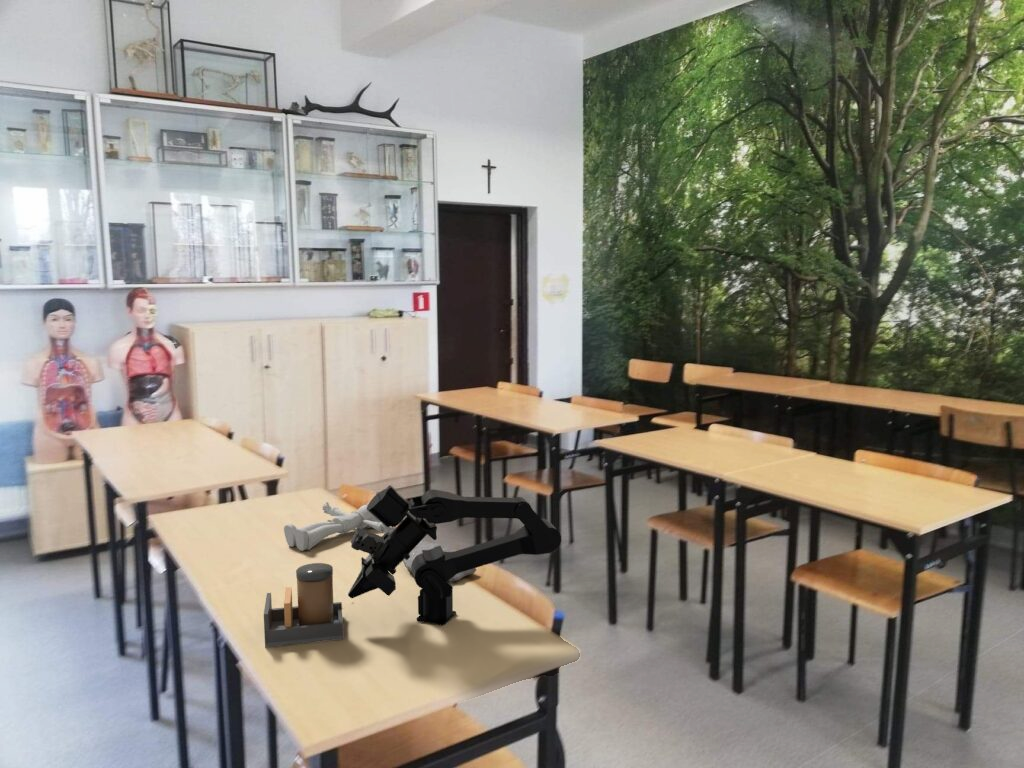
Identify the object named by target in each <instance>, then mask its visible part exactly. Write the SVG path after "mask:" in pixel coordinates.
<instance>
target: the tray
mask: <svg viewBox="0 0 1024 768" xmlns="http://www.w3.org/2000/svg"><path fill="white" fill-rule="evenodd" d="M342 604H343V603H342V602H340V601H339V602H338V601H337V602H336V601H335V602H333V607H334V623H325V624H315V625H306V626H299V618H298V605H295V606H292V609H293V625H292V627H286V628H285V617H284V607H274V608H273V607H272V606H273V605H272V592H266V597H265V604H264V609H263V628H264V629H263V630H264V646H265V647H264V648H273V647H281V646H282V647H283V646H291V645H301V644H302V645H303V644H312V643H320V642H329V641H337V640H338V641H339V640H344V622H343V609H342V608H343V607H342V606H343V605H342Z"/></svg>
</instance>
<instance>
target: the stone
mask: <svg viewBox="0 0 1024 768" xmlns="http://www.w3.org/2000/svg"><path fill="white" fill-rule="evenodd" d="M437 546H441V548H442V550H443V552H454V551H455V550H452V549H449V548H447V547H445V546H442V545H441V544H439V543H434V542H433V543H432V542H430V541H427V540H424V539H422V540H421V541H420V543H419V544H418V545H417V546H416V547H415V548H414V549H413V550H412V551H411V552H410V553H409V554H410V558H409V559H408V560H406V559H405V558H404V560H403V561H402V562H403V563H404V565H405V567H406V568H407V570H409V571H410V572H412V569H411V565H412V562H413V560H414V558H415V557H416V556H417V555H419V554H421V553H422V550H430V549H433V548H435V547H437ZM413 553H414V554H413ZM476 572H477V569H476V568H474V569H470V570H467V571H464V572H460V573H458V574H456V575H455V576H454V577H453V578H451V579H450V582H457V581H459V580H461V579H462V578H464V577H466V576H468V575H473V574H474V573H476Z"/></svg>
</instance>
